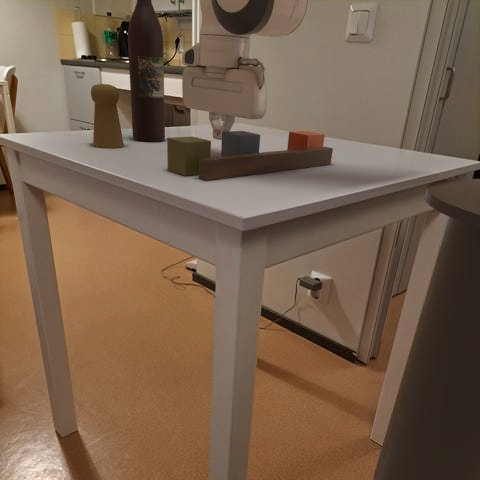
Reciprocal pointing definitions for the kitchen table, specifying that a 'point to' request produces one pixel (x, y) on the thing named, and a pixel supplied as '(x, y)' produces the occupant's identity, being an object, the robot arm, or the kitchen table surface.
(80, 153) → the kitchen table surface
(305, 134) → the terracotta block
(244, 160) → the straightedge
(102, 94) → the cork
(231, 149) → the slate-blue block
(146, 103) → the wine bottle
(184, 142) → the olive block
